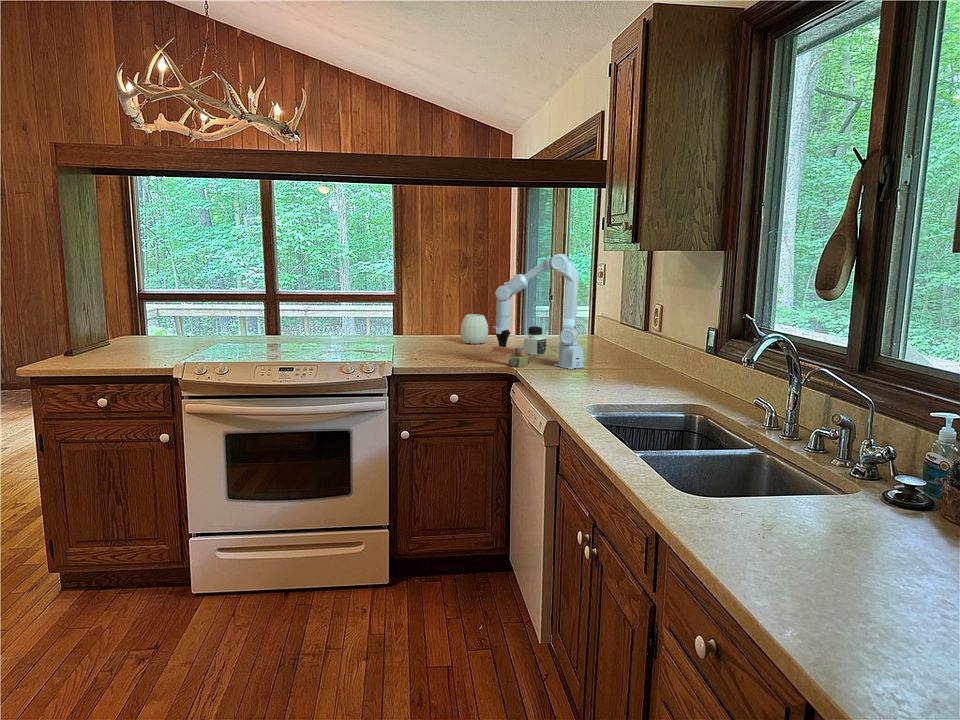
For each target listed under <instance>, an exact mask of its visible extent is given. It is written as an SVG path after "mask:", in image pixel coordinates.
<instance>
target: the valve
mask: <svg viewBox="0 0 960 720" xmlns="http://www.w3.org/2000/svg"><path fill="white" fill-rule="evenodd" d="M507 362H508V367H510V368H513V367H514V368H518V369H519V368H520V369H521V368H528V367H529V364H530V359H529V355H526V354H525V355H514V354H509V360H508V361H507ZM527 366H528V367H527Z"/></svg>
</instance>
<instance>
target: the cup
mask: <svg viewBox="0 0 960 720" xmlns="http://www.w3.org/2000/svg"><path fill="white" fill-rule="evenodd" d="M488 336H489V325H488V322H487V318H486V317H485V315H484V314H480V313H479V314H477V313H475V314H474V313H469V314H465V316H464V317H463V319H462V321H461V324H460V337H461V340H462V341H463V343H466V344H469V343H470V344H469V345H479V344H480V343H481V344H484V343H485V342H486V341H487V339H488Z"/></svg>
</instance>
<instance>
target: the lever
mask: <svg viewBox="0 0 960 720" xmlns="http://www.w3.org/2000/svg"><path fill="white" fill-rule="evenodd" d="M492 352H493V353H499V354H500V353H501V354H507V355H513V354H514V355H525V356H526V354H525V350H524V347H523V348H522V347H516V348H514V347H507V346H506V347H499V345H494V346H492V347H491V353H492Z"/></svg>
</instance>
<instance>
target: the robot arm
mask: <svg viewBox="0 0 960 720" xmlns="http://www.w3.org/2000/svg"><path fill="white" fill-rule="evenodd" d="M552 270H554V271H556V272H557V273H559V274H561V275H562V277H563V278H564V279H565V297H564V311H563V312H564V313H563V322H562V330H561V331H560V333H559V340H560V342H559V347H558V363H555V364H553V366H555V367H558V366H559V367H558V368H563V369H567V368H568V369H567V370H575V369H574V368H576V369H582V368H585V367H586V366H584V349H583V348H582V347H581V346H580V345H579V342H578V340H577V339H578V337H579V331H578V329H577V313H578V312H577V311H578V298H579V297H578V295H579V294H578V293H579V277H580V275H579V274H580V273H579V271H578V269H577V268H576V266H575V265H574V263H573V260H572V259H571V258H570V257H569V256H568V255H566V254H564V253H557V254H555V255H553V256H552V257H549V258H547V259H544V260H542V261H541V262H540V263H538V264H537V265H535V267H533V268H531V269H530V270H529V271H527V272H526V273H525V274H522V273H518V274H514V275H513V276H512V277H513V278H511V279H510V280H508V281H505V282H503V285H500V286H499V287H497V288H496V290H495V297H496V309H495V310H496V312H495V313H496V314H495V325H492V329H495V332H494V333H495V336H496V339H497V342H498V346H499V347H507V343H508V339H509V337H510V335H511V331H510V330H511V314H512V313H511V311H512V310H511V309H512V307H511V305H512V304H511V303H512V302H511V300H512V297H513V296H515V295H516V294H518V293H520V292H521V291H522V290H524V289H525V288H527V287H528V285H529V282H530V281H531V280H533V279H535V278H536V277H538V276H539V275H541V274H542V273H544V272H546V271H548V272H549V271H552Z"/></svg>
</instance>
